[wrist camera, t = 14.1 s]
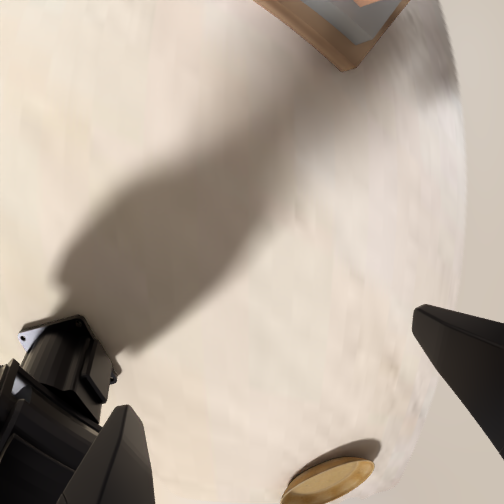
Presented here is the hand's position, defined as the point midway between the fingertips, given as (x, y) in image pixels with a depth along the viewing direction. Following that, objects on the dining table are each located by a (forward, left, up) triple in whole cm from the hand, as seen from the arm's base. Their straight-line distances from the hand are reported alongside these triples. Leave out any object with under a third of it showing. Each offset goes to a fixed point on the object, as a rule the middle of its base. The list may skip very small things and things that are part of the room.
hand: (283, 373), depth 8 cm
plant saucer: (+5, -40, -14) cm, 43 cm away
